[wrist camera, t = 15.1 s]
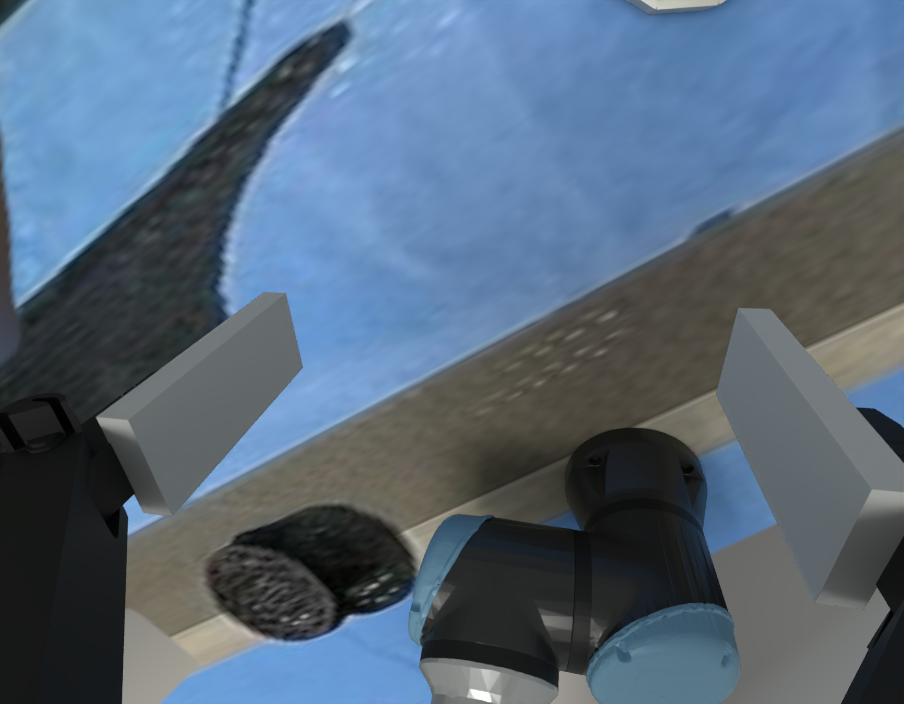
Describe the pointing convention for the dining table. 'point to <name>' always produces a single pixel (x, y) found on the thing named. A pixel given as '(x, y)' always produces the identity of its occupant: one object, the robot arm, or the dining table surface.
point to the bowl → (674, 5)
